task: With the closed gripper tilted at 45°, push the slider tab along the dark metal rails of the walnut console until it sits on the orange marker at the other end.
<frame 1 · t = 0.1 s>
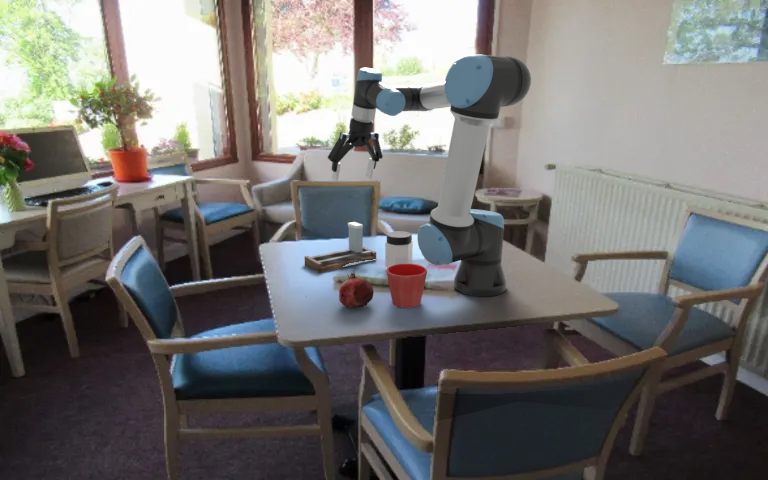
hand: (352, 178, 170), 28 cm above the table, tool tilted 20°, fingers open, 13 cm apart
fruit: (356, 307, 134), on the table
jar: (398, 269, 163), on the table
flower pot: (406, 303, 136), on the table
slider tab: (355, 239, 171), point 7 cm above the table, slide at -6.0 cm
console: (341, 262, 170), on the table
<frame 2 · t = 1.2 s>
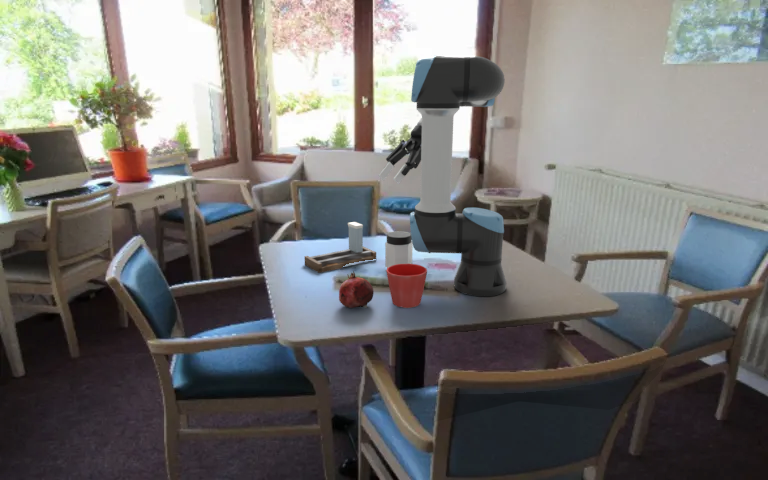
hand: (388, 179, 173), 27 cm above the table, tool tilted 45°, fingers open, 8 cm apart
nothing on the table moved.
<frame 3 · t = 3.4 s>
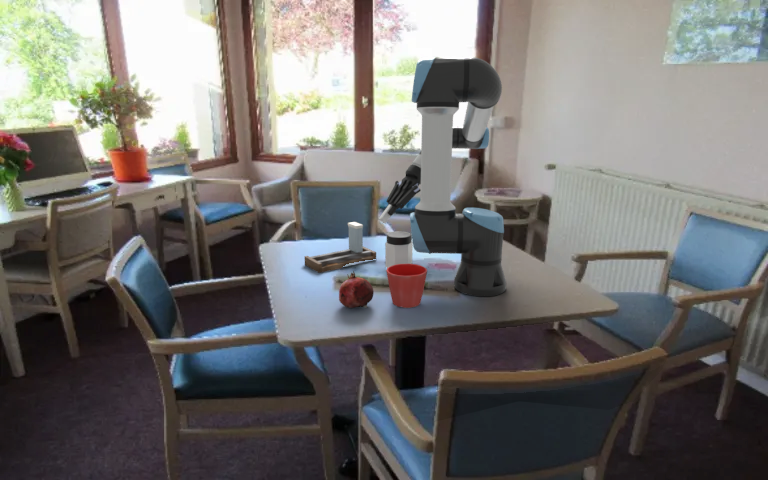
hand: (381, 221, 177), 12 cm above the table, tool tilted 45°, fingers closed
nothing on the table moved.
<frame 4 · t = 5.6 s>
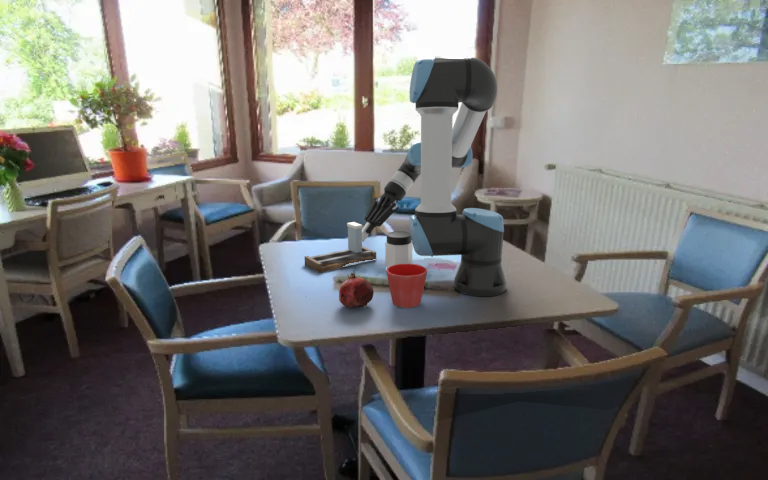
hand: (359, 239, 173), 7 cm above the table, tool tilted 45°, fingers closed
slider tab: (354, 239, 171), point 7 cm above the table, slide at -5.7 cm, touching gripper
everything else where it was.
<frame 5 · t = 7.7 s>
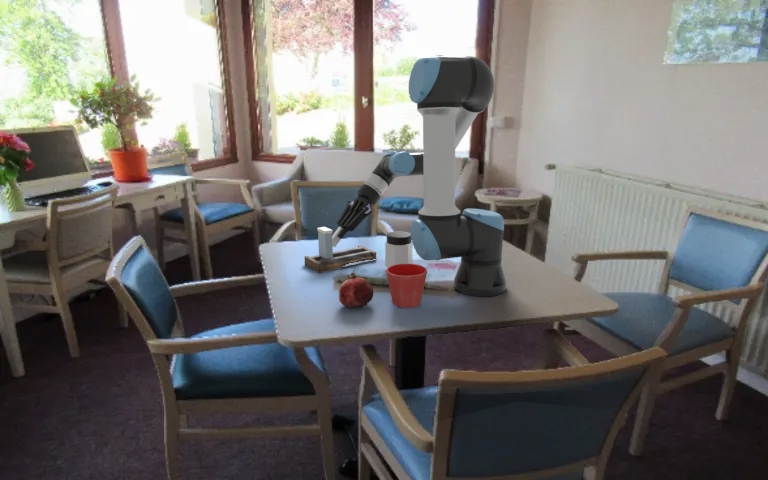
hand: (331, 244, 166), 7 cm above the table, tool tilted 45°, fingers closed
slider tab: (325, 244, 164), point 7 cm above the table, slide at 5.8 cm
everything else where it was.
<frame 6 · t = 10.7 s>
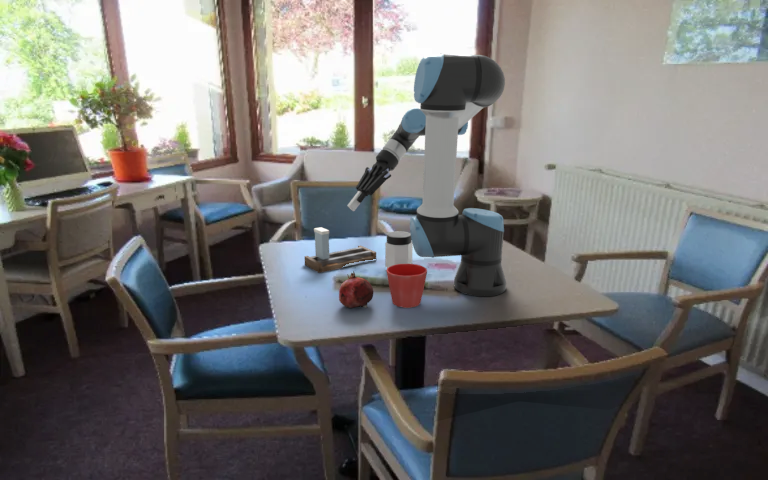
hand: (350, 208, 167), 18 cm above the table, tool tilted 45°, fingers closed
slider tab: (322, 245, 164), point 7 cm above the table, slide at 7.0 cm
everything else where it was.
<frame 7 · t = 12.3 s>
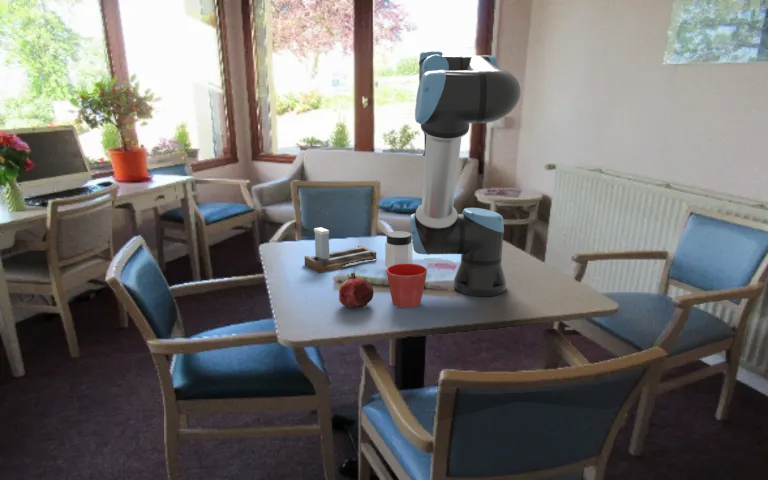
hand: (428, 175, 167), 29 cm above the table, tool pointing down, fingers closed
nothing on the table moved.
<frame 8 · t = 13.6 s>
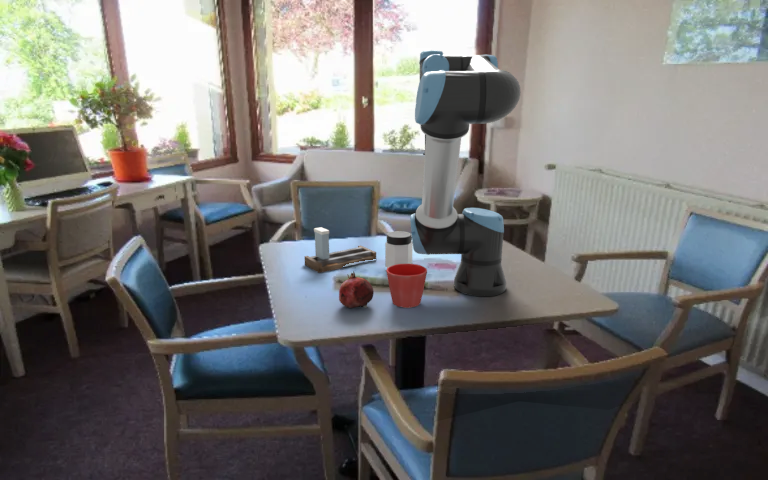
hand: (428, 174, 167), 29 cm above the table, tool pointing down, fingers closed
nothing on the table moved.
at the end: slider tab slide at 7.0 cm; jar moved 0.2 cm from its start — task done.
